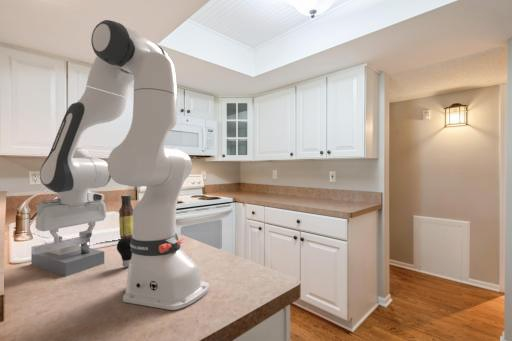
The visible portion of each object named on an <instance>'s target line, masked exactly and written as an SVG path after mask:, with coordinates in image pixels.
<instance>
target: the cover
mask: <svg viewBox="0 0 512 341" xmlns="http://www.w3.org/2000/svg"><path fill="white" fill-rule="evenodd" d="M67 239H68V238H63V237H62V240H67ZM52 242H54V240H49V241H46V242H44V244H48V243H52ZM79 246H80V245H76V246H71V247H67V248H62V249H58V250H54V251H49V252H50V253H53V254H57V255H63V254H67V253H71V252H74V251H78V250H79Z"/></svg>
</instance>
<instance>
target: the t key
mask: <svg viewBox="0 0 512 341" xmlns="http://www.w3.org/2000/svg"><path fill="white" fill-rule="evenodd" d="M91 237H92V235H91V233H90V232H86V231H85V230H83V231H79V235H78V237H72V238H66V239H67V240H62V241H57V242H52V243H48V244H45V243H44V244H39V245H34V246H31V254H33V255H36V254H40V253H45V252H49V251H54V250H58V249H62V248H67V247H71V246H76V245H79V246H81V254H87V253H89V248H90V242H91Z"/></svg>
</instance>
